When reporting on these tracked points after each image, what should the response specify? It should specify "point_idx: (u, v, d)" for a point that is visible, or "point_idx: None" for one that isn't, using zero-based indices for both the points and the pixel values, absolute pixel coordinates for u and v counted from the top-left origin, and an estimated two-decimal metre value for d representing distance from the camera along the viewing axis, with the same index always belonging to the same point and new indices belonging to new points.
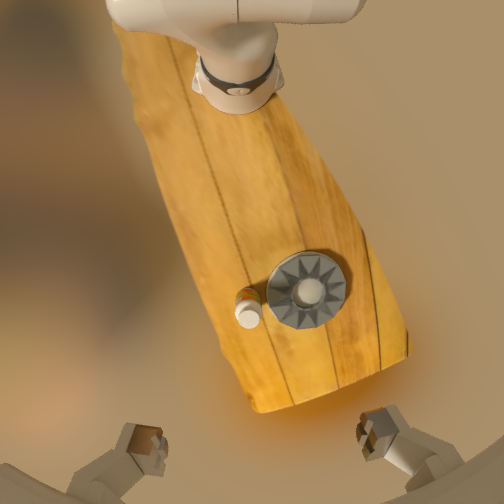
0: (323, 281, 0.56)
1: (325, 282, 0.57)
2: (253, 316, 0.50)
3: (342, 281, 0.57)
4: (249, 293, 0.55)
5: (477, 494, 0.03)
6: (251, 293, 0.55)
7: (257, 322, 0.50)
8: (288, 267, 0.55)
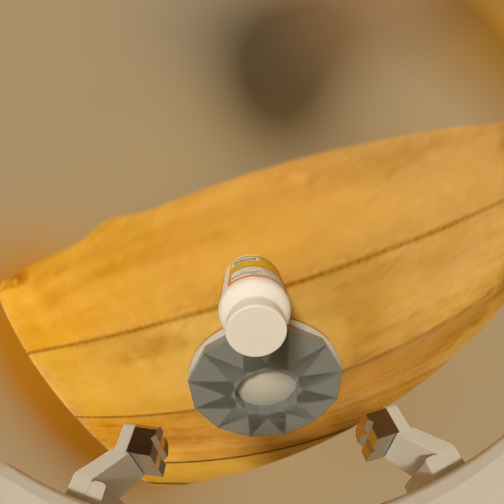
0: (289, 409, 0.28)
1: (287, 412, 0.28)
2: (265, 342, 0.17)
3: (285, 430, 0.29)
4: None
5: (477, 494, 0.03)
6: None
7: (246, 352, 0.17)
8: (325, 359, 0.26)
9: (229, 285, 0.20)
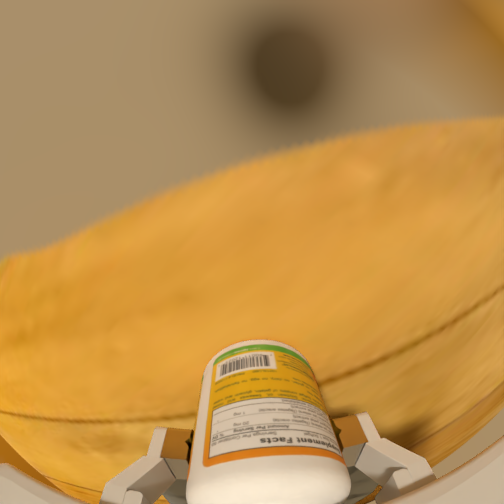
0: None
1: None
2: None
3: None
4: None
5: (477, 494, 0.03)
6: None
7: None
8: None
9: (206, 466, 0.06)
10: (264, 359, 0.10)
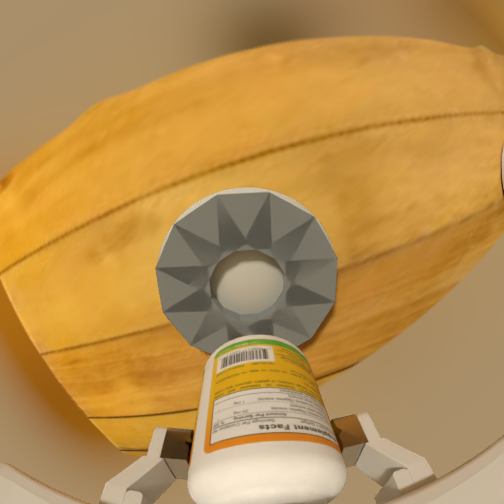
0: (277, 315, 0.26)
1: (275, 320, 0.26)
2: None
3: None
4: None
5: (477, 494, 0.03)
6: None
7: None
8: (315, 237, 0.24)
9: (207, 452, 0.06)
10: (263, 352, 0.11)
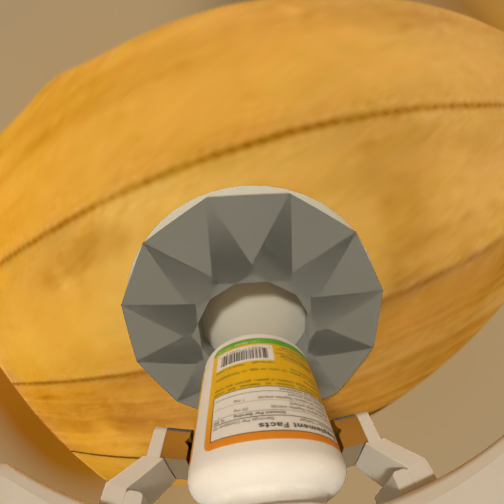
0: None
1: None
2: None
3: None
4: None
5: (477, 494, 0.03)
6: None
7: None
8: (355, 262, 0.16)
9: (208, 450, 0.06)
10: (263, 351, 0.11)
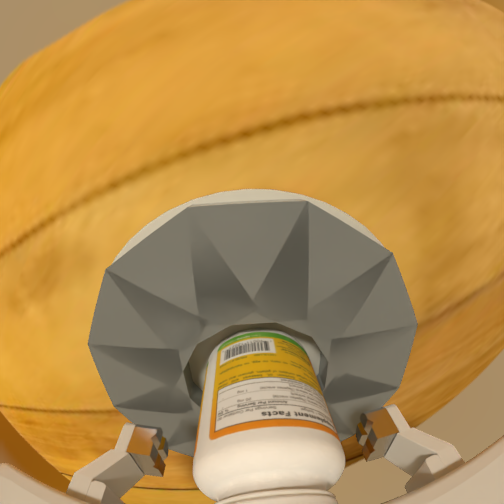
0: None
1: None
2: None
3: None
4: None
5: (477, 494, 0.03)
6: None
7: None
8: (389, 292, 0.11)
9: (212, 438, 0.07)
10: (264, 344, 0.11)
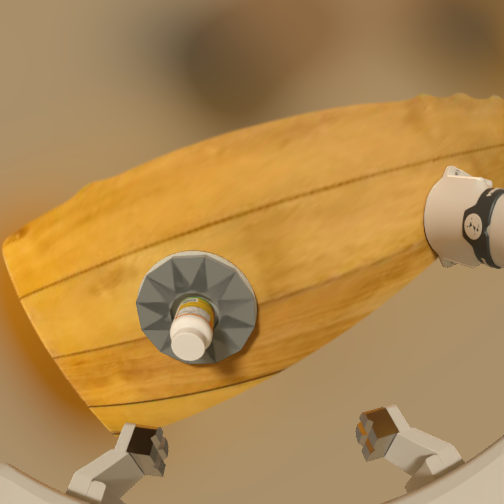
0: (215, 334, 0.38)
1: (214, 337, 0.38)
2: (193, 353, 0.29)
3: (215, 359, 0.39)
4: (213, 324, 0.36)
5: (477, 494, 0.03)
6: None
7: (183, 358, 0.29)
8: (237, 285, 0.37)
9: (175, 319, 0.32)
10: (194, 299, 0.36)
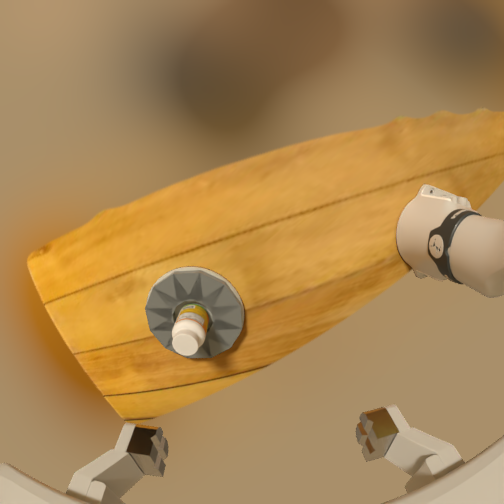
0: (210, 334, 0.47)
1: (208, 336, 0.47)
2: (189, 349, 0.38)
3: (210, 354, 0.48)
4: (207, 326, 0.44)
5: (477, 494, 0.03)
6: None
7: (182, 353, 0.38)
8: (226, 295, 0.45)
9: (176, 322, 0.40)
10: (192, 306, 0.45)
